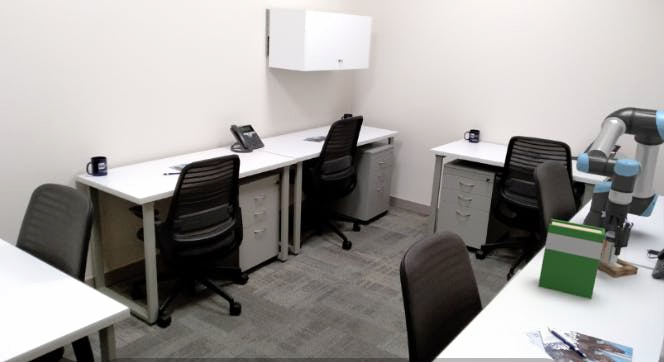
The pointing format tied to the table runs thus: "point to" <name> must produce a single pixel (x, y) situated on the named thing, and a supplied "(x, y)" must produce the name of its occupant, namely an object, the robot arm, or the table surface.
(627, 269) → the picture frame
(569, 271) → the hardback book
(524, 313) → the table surface
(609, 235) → the beer can
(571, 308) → the table surface
